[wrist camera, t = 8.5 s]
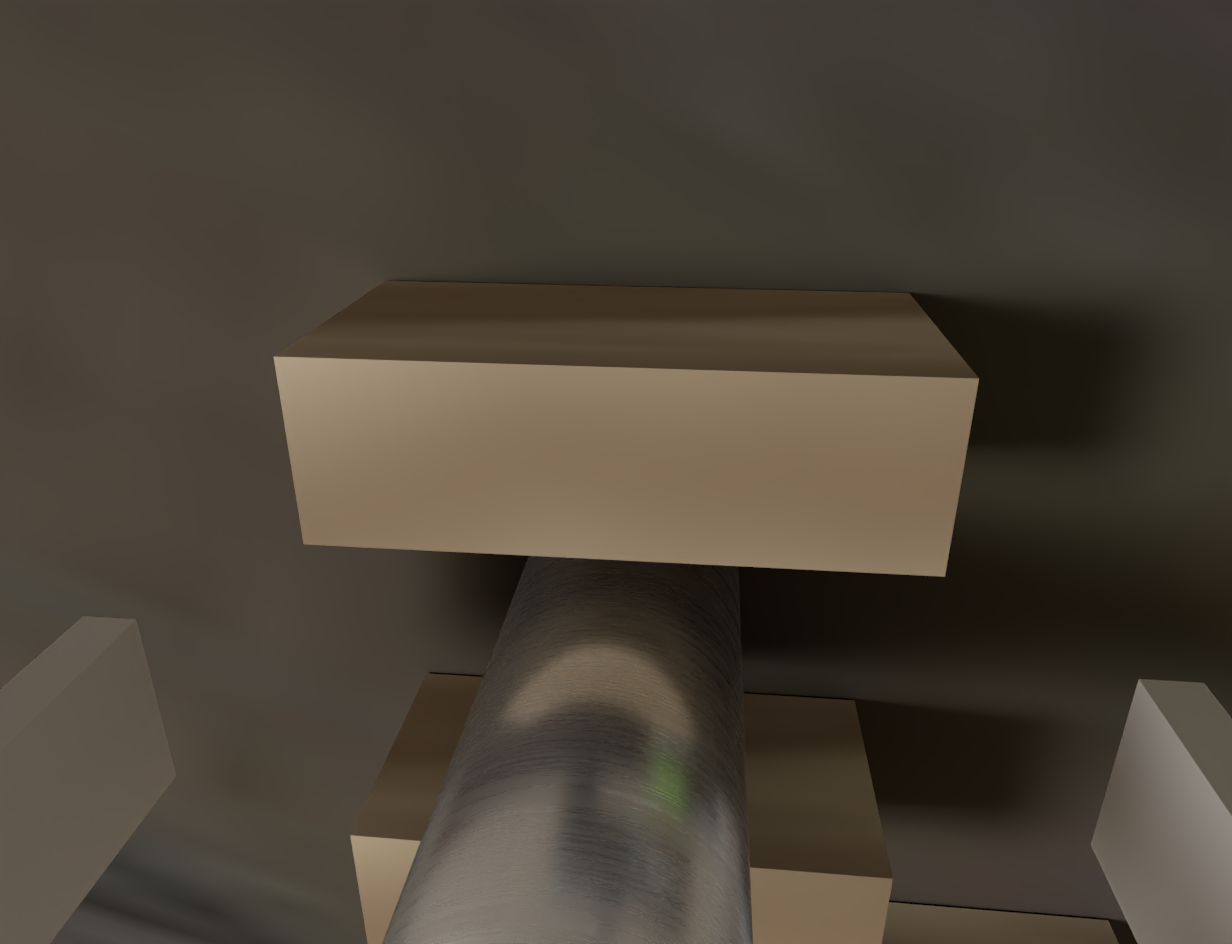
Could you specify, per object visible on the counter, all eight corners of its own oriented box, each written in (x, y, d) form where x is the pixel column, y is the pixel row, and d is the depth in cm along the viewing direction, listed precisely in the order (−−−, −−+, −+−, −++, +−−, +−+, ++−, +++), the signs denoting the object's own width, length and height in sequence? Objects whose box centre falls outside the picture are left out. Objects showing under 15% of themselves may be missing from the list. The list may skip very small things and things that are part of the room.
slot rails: (385, 280, 14) (273, 356, 11) (908, 293, 14) (978, 378, 10) (437, 774, 18) (369, 950, 15) (840, 804, 18) (872, 996, 14)
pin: (533, 642, 17) (319, 1319, 8) (532, 465, 15) (268, 1050, 6) (728, 660, 17) (740, 1383, 8) (747, 481, 15) (790, 1116, 6)
